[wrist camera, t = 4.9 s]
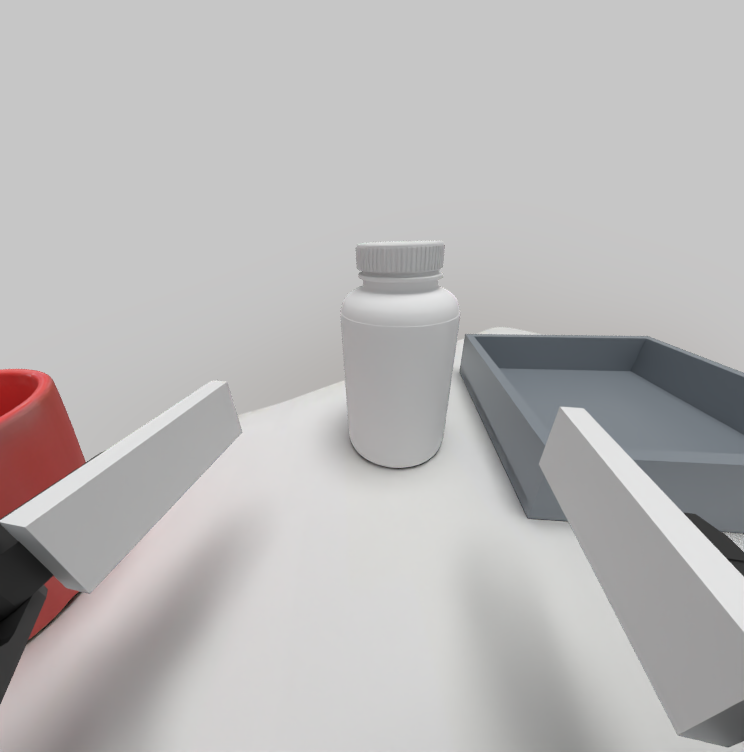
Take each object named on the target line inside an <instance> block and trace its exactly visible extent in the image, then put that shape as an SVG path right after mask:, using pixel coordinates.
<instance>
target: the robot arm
mask: <svg viewBox="0 0 744 752" xmlns="http://www.w3.org/2000/svg"><path fill="white" fill-rule="evenodd" d="M241 433H242V429H241V426H240V422H239V419H238V416H237V412H236V409H235V406H234V403H233V399H232V396H231V393H230V389H229V386H228V383H227V382H225V381H210V382H209V383H207V384H206V385H204V386H202V387H201V388H200V389H198V390H196V391H195V392H193V393H192V394H190V395H189V396H187V397H186V398H184V399H183V400H181V401H180V402H178V403H177V404H175V405H174V406H172V407H171V408H169V409H168V410H166V411H165V412H163V413H162V414H160V415H159V416H157V417H156V418H154V419H153V420H151V421H150V422H148V423H147V424H145V425H144V426H142V427H141V428H139V429H138V430H136V431H134V432H133V433H131V434H130V435H129V436H127V437H125V438H124V439H122V440H121V441H119V442H118V443H116V444H115V445H113V446H112V447H111V448H109V449H107V450H106V451H104V452H102V453H100V454H98V455H97V456H95V457H93V458H92V459H91V460H89V461H87V462H86V463H84V464H83V465H81V467H80V468H77V469H75V470H74V471H72V472H71V473H69V474H68V475H66V477H65V478H63V479H60V480H59V481H57V482H56V483H54V484H52V485H51V486H49V487H48V488H46V489H45V490H43V491H42V492H40V493H39V494H37V495H36V496H34V497H33V498H31V499H30V500H28V501H27V502H25V503H24V504H22V505H21V506H19V507H18V508H16V509H14V510H13V511H11V512H10V513H8V514H7V515H5V516H4V517H2V518H1V519H0V704H1V702H2V699H3V697H4V695H5V692H6V690H7V688H8V685H9V683H10V681H11V678H12V676H13V674H14V671H15V669H16V667H17V665H18V662H19V660H20V658H21V655H22V653H23V651H24V648H25V646H26V644H27V641H28V639H29V637H30V634H31V632H32V630H33V627H34V625H35V623H36V620H37V618H38V616H39V614H40V611H41V609H42V607H43V604H44V602H45V600H46V597H47V591H48V589H47V588H46V586H45V585H44V584H45V583H46V582H47V581H48V580H49V579H50V578H51V577H53V576H54V577H55V578H56V579H57V580H58V581H59V582H61V583H62V584H63V585H64V586H65V587H66V588H68V589H72V590H76V591H80V592H84V593H89V594H90V593H91V592H92V591H93V590H94V589H95V588H96V587H97V586H98V585H99V583H100V582H101V581H102V580H103V579H104V578H105V577H106V576H107V575H108V574H109V573H110V572H111V571H112V570H113V569H114V568H115V567H116V565H117V564H118V563H119V562H120V561H121V560H122V559H123V558H124V557H125V556H126V555H127V554H128V553H129V552H130V551H131V550H132V549H133V547H134V546H135V545H136V544H137V543H138V542H139V541H140V540H141V539H142V538H143V537H144V536H145V535H146V534H147V533H148V532H149V531H150V529H151V528H152V527H153V526H154V525H155V524H156V523H157V522H158V521H159V520H160V519H161V518H162V517H163V516H164V515H165V514H166V513H167V511H168V510H169V509H170V508H171V507H172V506H173V505H174V504H175V503H176V502H177V501H178V500H179V499H180V498H181V497H182V496H183V495H184V493H185V492H186V491H187V490H188V489H189V488H190V487H191V486H192V485H193V484H194V483H195V482H196V481H197V480H198V479H199V478H200V477H201V475H202V474H203V473H204V472H205V471H206V470H207V469H208V468H209V467H210V466H211V465H212V464H213V463H214V462H215V461H216V460H217V459H218V457H219V456H220V455H221V454H222V453H223V452H224V451H225V450H226V449H227V448H228V447H229V446H230V445H231V444H232V443H233V442H234V441H235V439H236V438H237V437H238V436H239V435H240V434H241ZM539 466H540V468H541V470H542V472H543V473H544V475H545V477H546V479H547V481H548V483H549V485H550V487H551V489H552V491H553V493H554V495H555V497H556V499H557V501H558V503H559V505H560V507H561V509H562V511H563V512H564V514H565V516H566V518H567V520H568V522H569V524H570V526H571V528H572V530H573V532H574V534H575V536H576V538H577V540H578V542H579V544H580V546H581V548H582V550H583V552H584V553H585V555H586V557H587V559H588V561H589V563H590V565H591V567H592V569H593V571H594V573H595V575H596V577H597V579H598V581H599V583H600V585H601V587H602V589H603V591H604V592H605V594H606V596H607V598H608V600H609V602H610V604H611V606H612V608H613V610H614V612H615V614H616V616H617V618H618V620H619V622H620V624H621V626H622V628H623V630H624V632H625V633H626V635H627V637H628V639H629V641H630V643H631V645H632V647H633V649H634V651H635V653H636V655H637V657H638V659H639V661H640V663H641V665H642V667H643V669H644V671H645V673H646V674H647V676H648V678H649V680H650V682H651V684H652V686H653V688H654V690H655V692H656V694H657V696H658V698H659V700H660V702H661V704H662V706H663V708H664V710H665V712H666V713H667V715H668V717H669V719H670V721H671V723H672V725H673V727H674V729H675V731H676V733H677V735H679V736H683V737H687V738H691V739H695V740H699V741H704V742H708V743H712V744H716V745H720V746H724V747H731V746H733V745H735V744H738V743H740V742H742V741H744V552H743V551H742V550H741V549H740V548H739V547H738V546H737V545H736V544H735V543H734V542H733V541H732V540H731V539H730V538H729V537H728V536H726V535H725V534H723V533H722V532H721V531H719V530H718V529H716V528H715V527H714V526H712V525H711V524H709V523H708V522H706V521H705V520H704V519H702V518H701V517H699V516H698V515H696V514H692V513H684V512H682V511H681V510H680V509H679V508H678V507H677V506H676V505H675V504H674V503H673V502H672V501H671V500H670V499H669V497H668V496H667V495H666V494H665V493H664V492H663V491H662V490H661V489H660V488H659V487H658V486H657V485H656V484H655V483H654V482H653V481H652V480H651V479H650V477H649V476H648V475H647V474H646V473H645V472H644V471H643V470H642V469H641V468H640V467H639V466H638V465H637V464H636V463H635V462H634V461H633V460H632V459H631V457H630V456H629V455H628V454H627V453H626V452H625V451H624V450H623V449H622V448H621V447H620V446H619V445H618V444H617V443H616V442H615V441H614V440H613V439H612V437H611V436H610V435H609V434H608V433H607V432H606V431H605V430H604V429H603V428H602V427H601V426H600V425H599V424H598V423H597V422H596V421H595V420H594V419H593V417H592V416H591V415H590V414H589V413H588V412H587V411H586V410H585V409H584V408H573V407H559V410H558V413H557V415H556V418H555V421H554V423H553V426H552V429H551V432H550V434H549V437H548V440H547V443H546V445H545V448H544V451H543V454H542V456H541V459H540V462H539Z"/></svg>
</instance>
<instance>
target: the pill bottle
mask: <svg viewBox="0 0 744 752" xmlns="http://www.w3.org/2000/svg"><path fill="white" fill-rule="evenodd" d="M444 248H445V245H444V243H443V242H442V241H398V242H372V243H360V244H357V247H356V261H357V269H358V270H361V271H362V272H360V273H359V278H360V279H362V280H363V286H361V287H358V288H356V289H354V290H353V291H351V292H350V293H349V294H348V295H347V296H346V297H345V299H344V301H343V303H342V307H341V329H342V343H343V357H344V370H345V385H346V399H347V413H348V426H349V434H350V439H351V442H352V444H353V446H354V448H355V449H356V450H357V452H358V453H359V454H360V455H361V456H363V457H364V458H365V459H367V460H369V461H371V462H373V463H375V464H378V465H381V466H385V467H392V468H405V467H411V466H415V465H419V464H421V463H423V462H425V461H427V460H429V459H430V458H431V457H432V456H433V455H434V454H435V453H436V452H437V451H438V449H439V448H440V445H441V443H442V439H443V435H444V428H445V421H446V414H447V407H448V399H449V392H450V385H451V378H452V371H453V364H454V357H455V350H456V342H457V335H458V328H459V321H460V308H459V304H458V301H457V299H456V297H455V296H454V295H453V294H452V293H451V292H450V291H448V290H447V289H445V288H443V287H441V286H438V280H439V279H441V278H443V272H441V271H439V269H440V268H442V267H443V259H444Z"/></svg>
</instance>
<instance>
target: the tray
mask: <svg viewBox="0 0 744 752" xmlns="http://www.w3.org/2000/svg"><path fill="white" fill-rule="evenodd" d="M460 374H461V376H462V378H463V380H464V383H465V385H466V387H467V389H468V391H469V393H470V395H471V398H472V400H473V402H474V404H475V406H476V408H477V410H478V413H479V415H480V417H481V419H482V421H483V423H484V425H485V428H486V430H487V432H488V434H489V436H490V438H491V440H492V443H493V445H494V447H495V449H496V451H497V453H498V455H499V458H500V460H501V462H502V464H503V466H504V468H505V470H506V473H507V475H508V477H509V479H510V481H511V483H512V485H513V488H514V490H515V492H516V494H517V496H518V498H519V500H520V503H521V505H522V507H523V509H524V511H525V513H526V515H527V518H531V519H546V520H560V521H568V520H567V518H566V516H565V514H564V512H563V511H562V509H561V507H560V505H559V503H558V501H557V499H556V497H555V495H554V493H553V491H552V489H551V487H550V485H549V483H548V481H547V479H546V477H545V475H544V473H543V472H542V470H541V468H540V466H539V462H540V459H541V456H542V454H543V451H544V448H545V445H546V443H547V440H548V437H549V434H550V432H551V429H552V426H553V423H554V421H555V418H556V415H557V413H558V410H559V407H573V408H584V409H585V410H586V411H587V412H588V413H589V414H590V415H591V416H592V417H593V419H594V420H595V421H596V422H597V423H598V424H599V425H600V426H601V427H602V428H603V429H604V430H605V431H606V432H607V433H608V434H609V435H610V436H611V437H612V439H613V440H614V441H615V442H616V443H617V444H618V445H619V446H620V447H621V448H622V449H623V450H624V451H625V452H626V453H627V454H628V455H629V456H630V457H631V459H632V460H633V461H634V462H635V463H636V464H637V465H638V466H639V467H640V468H641V469H642V470H643V471H644V472H645V473H646V474H647V475H648V476H649V477H650V479H651V480H652V481H653V482H654V483H655V484H656V485H657V486H658V487H659V488H660V489H661V490H662V491H663V492H664V493H665V494H666V495H667V496H668V497H669V499H670V500H671V501H672V502H673V503H674V504H675V505H676V506H677V507H678V508H679V509H680V510H681V511H682V512H684V513H692V514H696V515H698V516H699V517H701V518H702V519H704V520H705V521H706V522H708V523H709V524H711V525H712V526H714V527H715V528H716V529H718V530H719V531H722V532H736V533H744V373H743V372H740V371H738V370H735V369H732V368H730V367H727V366H724V365H722V364H719V363H717V362H714V361H711V360H709V359H706V358H704V357H701V356H698V355H696V354H693V353H691V352H688V351H685V350H683V349H680V348H678V347H675V346H672V345H670V344H667V343H664V342H661V341H659V340H656V339H654V338H651V337H648V336H583V335H581V336H580V335H579V336H578V335H574V336H573V335H495V334H465V339H464V346H463V352H462V359H461V366H460Z"/></svg>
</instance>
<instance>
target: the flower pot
mask: <svg viewBox="0 0 744 752" xmlns="http://www.w3.org/2000/svg"><path fill="white" fill-rule="evenodd" d="M84 463H86V462H85V459H84V456H83V454H82V451H81V449H80V446H79V443H78V440H77V438H76V435H75V432H74V429H73V427H72V424H71V422H70V420H69V417H68V414H67V411H66V409H65V406H64V404H63V402H62V399H61V397H60V394H59V392H58V390H57V388H56V386H55V383H54V381H53V380H52V379H51V377H50V376H49V375H47V374H45V373H43V372H40V371H35V370H27V369H5V370H0V519H1V518H2V517H4V516H5V515H7V514H8V513H10V512H11V511H13V510H14V509H16V508H18V507H19V506H21V505H22V504H24V503H25V502H27V501H28V500H30V499H31V498H33V497H34V496H36V495H37V494H39V493H40V492H42V491H43V490H45V489H46V488H48V487H49V486H51V485H52V484H54V483H56V482H57V481H59V480H60V479H63V478H65V477H66V475H68V474H69V473H71V472H72V471H74V470H75V469H77V468H80V467H81V465H83V464H84ZM44 585H45V586H46V588H47V589H48V591H47V597H46V600H45V602H44V604H43V607H42V609H41V611H40V614H39V616H38V618H37V620H36V623H35V625H34V627H33V630H32V632H31V634H30V637H29V639H31V638H32V637H33V636H34V635H36V634H37V633H38V632H39V631H40V630H41V629H43V628H44V627H45V626H46V625H47V624H48V623H49V622H50V621H51V620H52V619H54V618H55V617H56V616H57V614H58V613H59V612H60V611H61V610H62V609H63V608H64V607H65V606H66V604H67V603H68V602H69V601H70V599H71V598H72V597H73V596H75V595H76V594H77V593H78V592H79V591H76V590H72V589H68V588H66V587H65V586H64V585H63V584H62V583H61V582H59V581H58V580H57V579H56V578H55V577H54V576H53V577H51V578H50V579H49V580H48V581H47V582H46V583H45V584H44ZM29 639H28V640H29Z"/></svg>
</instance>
